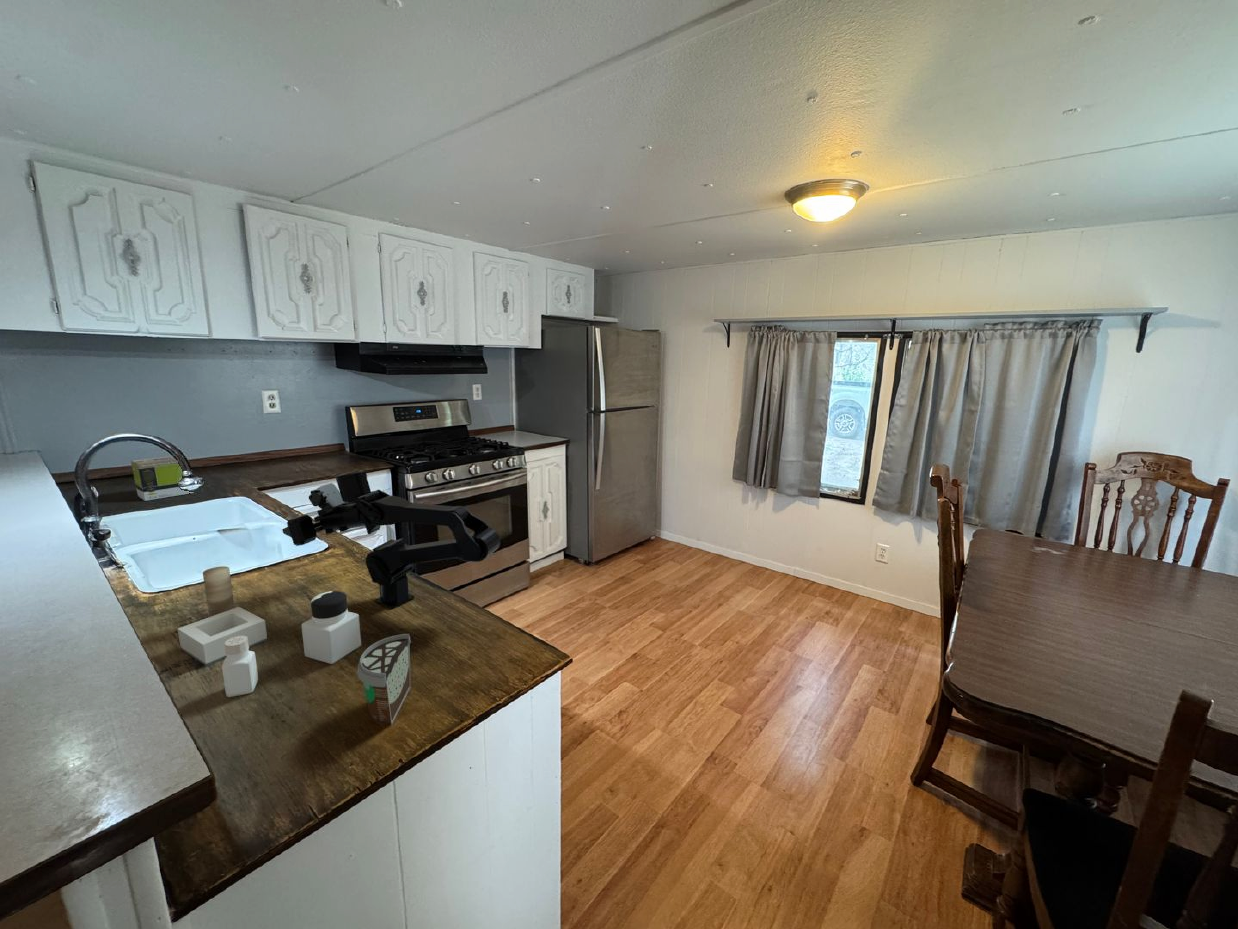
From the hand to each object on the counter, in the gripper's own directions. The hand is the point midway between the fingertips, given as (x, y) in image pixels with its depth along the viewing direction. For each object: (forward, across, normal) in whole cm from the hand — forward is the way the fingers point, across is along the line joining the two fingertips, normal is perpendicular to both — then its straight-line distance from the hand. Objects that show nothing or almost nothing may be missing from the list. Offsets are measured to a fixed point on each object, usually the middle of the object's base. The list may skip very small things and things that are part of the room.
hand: (299, 525), depth 122 cm
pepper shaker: (-17, +35, +21) cm, 44 cm away
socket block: (-1, +25, +17) cm, 31 cm away
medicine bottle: (-23, +22, +23) cm, 39 cm away
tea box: (+115, -49, -12) cm, 126 cm away
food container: (-42, +32, +28) cm, 60 cm away
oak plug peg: (+7, +19, +15) cm, 25 cm away
